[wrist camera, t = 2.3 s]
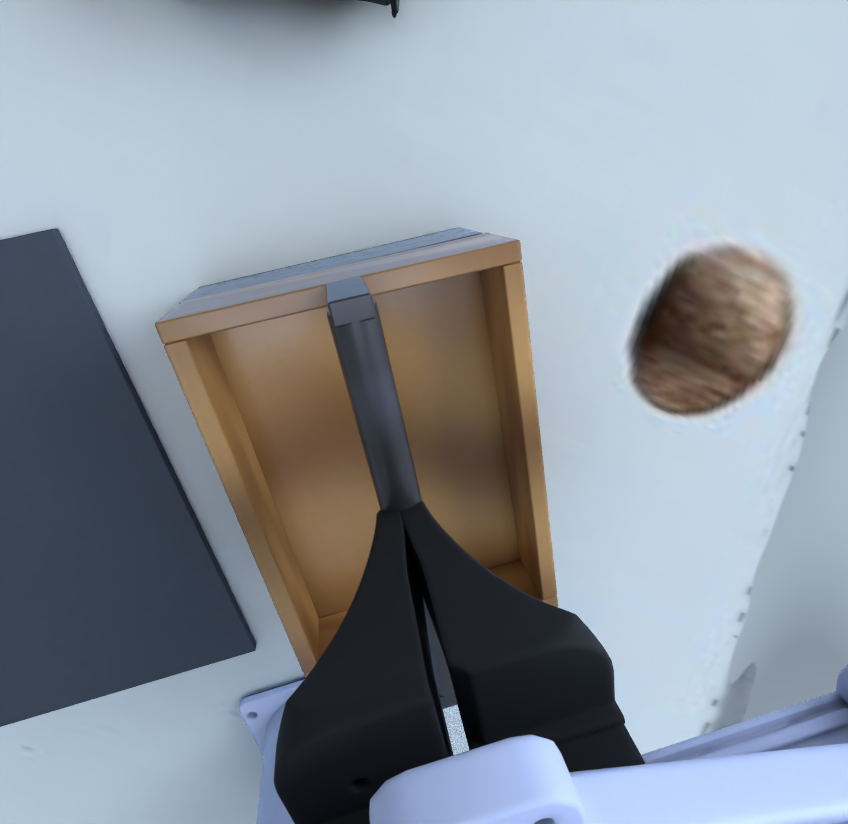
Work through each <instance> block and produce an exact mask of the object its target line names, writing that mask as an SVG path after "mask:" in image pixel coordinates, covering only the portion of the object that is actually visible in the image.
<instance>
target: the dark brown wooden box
mask: <svg viewBox="0 0 848 824" xmlns="http://www.w3.org/2000/svg"><path fill="white" fill-rule="evenodd" d="M479 234H483V233H480V232H476V231H471V230H467V229H463V228H455V229H451V230H446V231H442V232H438V233H433V234H429V235H424V236H420V237H416V238H411V239H407V240H403V241H398V242H394V243H390V244H385V245H381V246H377V247H372V248H368V249H364V250H359V251H355V252H351V253H346V254H342V255H337V256H333V257H329V258H324V259H320V260H316V261H311V262H307V263H303V264H298V265H294V266H290V267H285V268H281V269H277V270H272V271H268V272H264V273H259V274H255V275H250V276H246V277H242V278H237V279H233V280H229V281H224V282H220V283H216V284H211V285H207V286H203V287H199V288H198V289H197V290H196V291H194V292H193V293H192V294H191V295H189V296H188V297H187V298H186V299H184V300H183V301H187V300H191V299H196V298H200V297H205V296H209V295H213V294H218V293H222V292H227V291H231V290H236V289H240V288H244V287H249V286H253V285H258V284H262V283H267V282H271V281H275V280H280V279H284V278H289V277H293V276H298V275H302V274H306V273H311V272H315V271H320V270H324V269H329V268H333V267H337V266H342V265H346V264H351V263H355V262H360V261H364V260H369V259H373V258H377V257H382V256H386V255H391V254H395V253H400V252H404V251H408V250H413V249H417V248H422V247H426V246H431V245H435V244H439V243H444V242H448V241H453V240H457V239H462V238H466V237H470V236H475V235H479ZM183 301H182V302H183ZM180 303H181V302H180ZM180 303H179V304H180Z"/></svg>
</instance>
